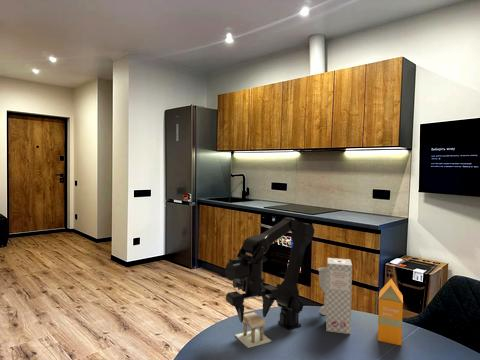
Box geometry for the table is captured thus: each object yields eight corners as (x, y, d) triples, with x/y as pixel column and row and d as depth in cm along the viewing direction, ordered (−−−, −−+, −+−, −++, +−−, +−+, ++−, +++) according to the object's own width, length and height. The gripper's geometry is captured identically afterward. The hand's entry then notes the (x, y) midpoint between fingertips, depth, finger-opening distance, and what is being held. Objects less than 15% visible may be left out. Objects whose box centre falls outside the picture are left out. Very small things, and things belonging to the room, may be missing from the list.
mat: (257, 330, 123) (257, 329, 123) (270, 341, 115) (270, 340, 115) (235, 336, 119) (235, 334, 119) (248, 348, 111) (248, 346, 111)
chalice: (334, 317, 135) (335, 272, 135) (317, 315, 137) (318, 271, 136) (333, 309, 143) (334, 267, 142) (316, 308, 144) (317, 266, 143)
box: (326, 331, 124) (327, 263, 123) (326, 321, 132) (327, 257, 131) (350, 334, 122) (352, 265, 121) (348, 323, 130) (350, 259, 129)
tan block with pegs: (264, 340, 115) (264, 319, 115) (252, 343, 113) (252, 322, 113) (254, 331, 122) (254, 312, 121) (242, 334, 119) (242, 314, 119)
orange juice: (401, 334, 122) (403, 279, 122) (401, 345, 114) (403, 287, 114) (378, 329, 125) (379, 276, 125) (377, 340, 117) (378, 283, 117)
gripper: (263, 265, 128) (263, 306, 128) (219, 272, 119) (218, 315, 120) (281, 273, 118) (280, 317, 119) (233, 281, 109) (233, 328, 110)
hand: (252, 319), depth 117 cm, fingers open, 9 cm apart
